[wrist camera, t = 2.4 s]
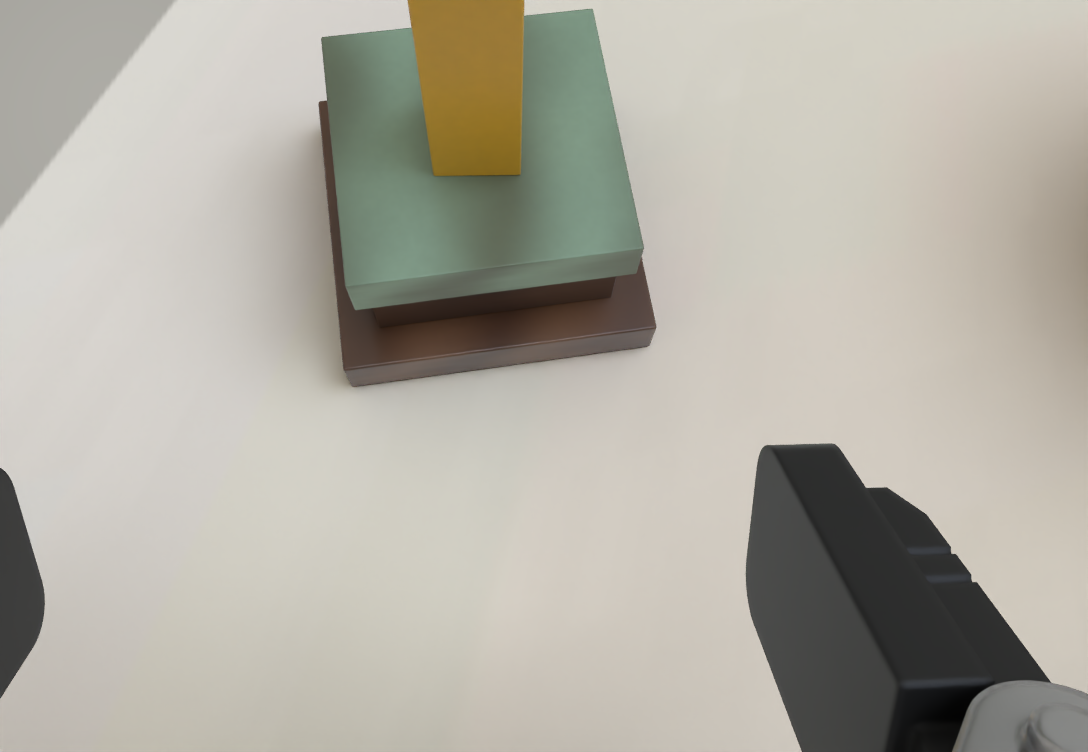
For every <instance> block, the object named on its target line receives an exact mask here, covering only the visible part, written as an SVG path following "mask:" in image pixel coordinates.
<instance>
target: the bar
mask: <svg viewBox="0 0 1088 752" xmlns="http://www.w3.org/2000/svg"><path fill="white" fill-rule="evenodd" d="M408 7H409V13H410V20H411V27H412V34H413V41H414V47H415V54H416V61H417V68H418V74H419V81H420V88H421V95H422V102H423V108H424V115H425V122H426V129H427V135H428V142H429V149H430V156H431V162H432V169H433V175H434V176H476V175H520V174H521V143H522V92H523V41H524V0H408Z"/></svg>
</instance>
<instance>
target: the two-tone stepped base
mask: <svg viewBox="0 0 1088 752" xmlns="http://www.w3.org/2000/svg"><path fill="white" fill-rule="evenodd" d="M321 41H322V52H323V62H324V72H325V82H326V93H327V101H320V102H319V114H320V125H321V136H322V146H323V157H324V168H325V178H326V189H327V200H328V210H329V221H330V232H331V242H332V253H333V264H334V274H335V285H336V296H337V307H338V317H339V328H340V339H341V349H342V360H343V369H344V371H345V373H346V375H347V377H348V379H349V381H350V383H351V385H352V386H353V387H354V386H361V385H369V384H376V383H383V382H391V381H398V380H405V379H413V378H420V377H427V376H434V375H442V374H449V373H456V372H464V371H471V370H478V369H485V368H493V367H500V366H507V365H515V364H522V363H529V362H537V361H544V360H551V359H558V358H566V357H573V356H580V355H588V354H595V353H602V352H609V351H617V350H624V349H631V348H639V347H646V346H649V345H650V342H651V340H652V337H653V335H654V332H655V330H656V323H655V318H654V313H653V309H652V304H651V299H650V295H649V290H648V285H647V280H646V276H645V271H644V266H643V262H642V257H641V256H642V253H643V249H644V246H643V241H642V237H641V232H640V227H639V223H638V218H637V213H636V209H635V204H634V199H633V195H632V190H631V185H630V181H629V176H628V171H627V167H626V162H625V157H624V153H623V148H622V143H621V139H620V134H619V129H618V125H617V120H616V115H615V111H614V106H613V101H612V97H611V92H610V87H609V83H608V78H607V73H606V69H605V64H604V59H603V55H602V50H601V45H600V41H599V36H598V31H597V27H596V22H595V17H594V13H593V9H585V10H575V11H566V12H556V13H547V14H537V15H528V16H524V41H523V92H522V143H521V174H520V175H476V176H434V175H433V169H432V162H431V156H430V149H429V142H428V135H427V129H426V122H425V115H424V108H423V102H422V95H421V88H420V81H419V74H418V68H417V61H416V54H415V47H414V41H413V34H412V28H405V29H395V30H386V31H376V32H367V33H357V34H348V35H339V36H329V37H322V38H321Z"/></svg>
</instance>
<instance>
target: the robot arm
mask: <svg viewBox="0 0 1088 752" xmlns="http://www.w3.org/2000/svg"><path fill="white" fill-rule="evenodd" d="M746 588H747V597H748V603H749V608H750V613H751V617H752V620H753V623H754V626H755V628H756V631H757V634H758V636H759V639H760V642H761V644H762V647H763V650H764V652H765V655H766V657H767V660H768V663H769V665H770V668H771V671H772V673H773V676H774V679H775V681H776V684H777V687H778V689H779V692H780V695H781V697H782V700H783V703H784V705H785V708H786V711H787V713H788V716H789V719H790V721H791V724H792V726H793V729H794V732H795V734H796V737H797V740H798V742H799V745H800V748H801V750H802V752H1088V694H1086V693H1084V692H1082V691H1079V690H1076V689H1073V688H1069V687H1066V686H1063V685H1058V684H1054V683H1051V682H1050V680H1049V679H1048V678H1047V676H1046V675H1045V674H1044V672H1043V671H1042V670H1041V668H1040V667H1039V666H1038V664H1037V663H1036V661H1035V660H1034V659H1033V657H1032V656H1031V655H1030V653H1029V652H1028V651H1027V649H1026V648H1025V647H1024V645H1023V644H1022V643H1021V641H1020V640H1019V639H1018V637H1017V636H1016V634H1015V633H1014V632H1013V630H1012V629H1011V628H1010V626H1009V625H1008V624H1007V622H1006V621H1005V620H1004V618H1003V617H1002V616H1001V614H1000V613H999V612H998V610H997V609H996V608H995V606H994V605H993V603H992V602H991V601H990V599H989V598H988V597H987V595H986V594H985V593H984V591H983V590H982V589H981V587H980V586H979V585H978V583H977V582H972V580H971V574H970V572H969V571H968V570H967V568H966V567H965V566H964V564H963V563H962V562H961V560H960V559H959V558H958V556H957V555H956V554H951V547H950V546H949V544H948V543H947V541H946V540H945V539H944V537H943V536H942V535H941V533H940V532H939V531H938V529H937V528H936V527H935V525H934V524H933V523H932V521H931V520H930V519H929V517H928V516H927V515H926V514H925V513H923V512H922V511H921V510H919V509H918V508H916V507H915V506H913V505H912V504H910V503H909V502H907V501H906V500H904V499H903V498H901V497H900V496H899V495H897V494H896V493H894V492H893V491H891V490H890V489H888V488H887V487H886V488H866V487H865V486H864V484H863V483H862V481H861V480H860V478H859V477H858V475H857V474H856V472H855V471H854V469H853V468H852V466H851V465H850V463H849V462H848V460H847V459H846V457H845V456H844V454H843V453H842V451H841V450H840V449H839V447H838V446H836V445H835V444H832V443H831V444H796V445H767V446H764V447H763V448H762V450H761V452H760V455H759V459H758V463H757V471H756V480H755V489H754V497H753V506H752V515H751V524H750V533H749V542H748V551H747V560H746ZM44 606H45V597H44V588H43V584H42V580H41V576H40V573H39V570H38V566H37V563H36V559H35V556H34V553H33V549H32V546H31V543H30V539H29V536H28V533H27V529H26V526H25V523H24V519H23V516H22V512H21V509H20V506H19V502H18V499H17V496H16V492H15V489H14V486H13V483H12V481H11V479H10V477H9V476H8V475H7V473H6V472H5V471H4V470H3V469H1V468H0V698H1V697H2V695H3V694H4V692H5V690H6V689H7V687H8V686H9V684H10V683H11V681H12V679H13V678H14V676H15V675H16V673H17V672H18V670H19V668H20V667H21V665H22V664H23V662H24V661H25V659H26V658H27V656H28V654H29V653H30V651H31V650H32V648H33V646H34V645H35V643H36V641H37V638H38V636H39V633H40V630H41V627H42V622H43V617H44Z"/></svg>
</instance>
